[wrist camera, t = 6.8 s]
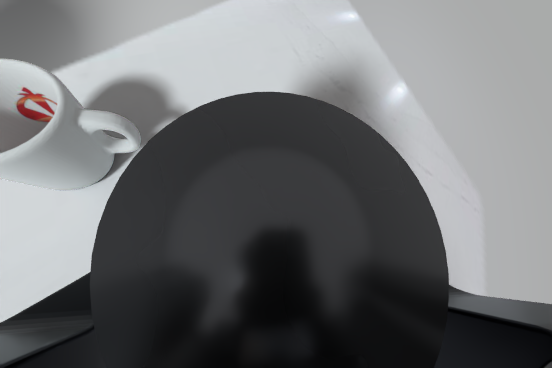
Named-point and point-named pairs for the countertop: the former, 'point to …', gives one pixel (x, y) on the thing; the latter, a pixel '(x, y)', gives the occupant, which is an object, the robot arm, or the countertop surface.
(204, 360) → the dark grey metallic cylinder
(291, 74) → the countertop surface
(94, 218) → the countertop surface
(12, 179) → the cup
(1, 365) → the robot arm
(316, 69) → the countertop surface
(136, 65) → the countertop surface
